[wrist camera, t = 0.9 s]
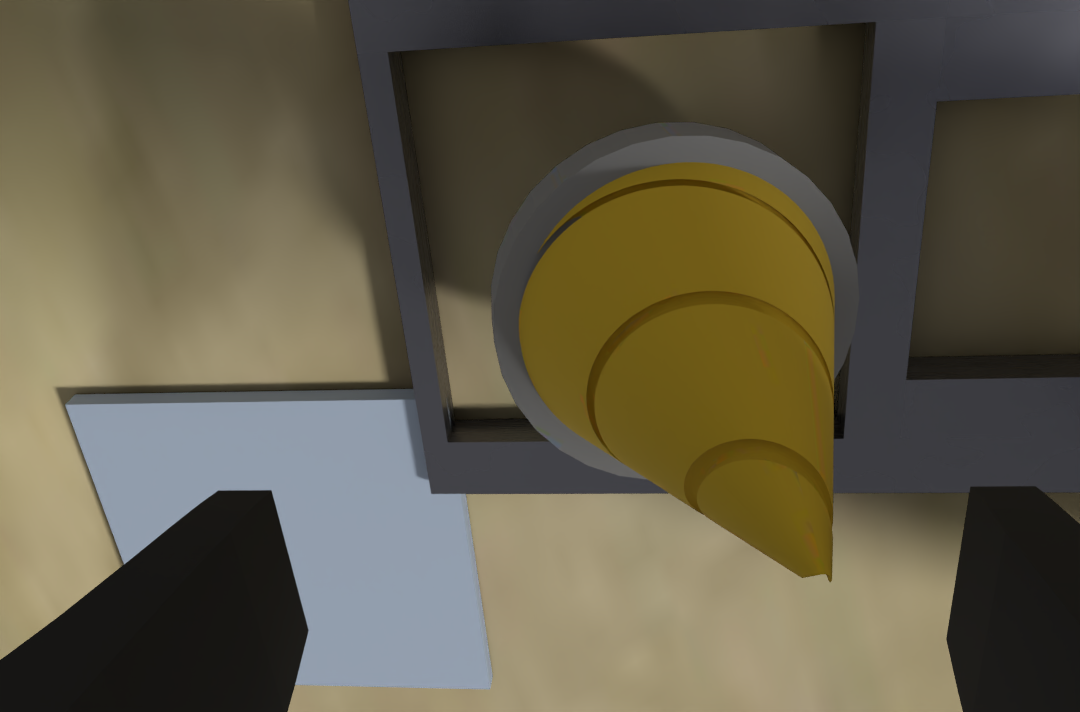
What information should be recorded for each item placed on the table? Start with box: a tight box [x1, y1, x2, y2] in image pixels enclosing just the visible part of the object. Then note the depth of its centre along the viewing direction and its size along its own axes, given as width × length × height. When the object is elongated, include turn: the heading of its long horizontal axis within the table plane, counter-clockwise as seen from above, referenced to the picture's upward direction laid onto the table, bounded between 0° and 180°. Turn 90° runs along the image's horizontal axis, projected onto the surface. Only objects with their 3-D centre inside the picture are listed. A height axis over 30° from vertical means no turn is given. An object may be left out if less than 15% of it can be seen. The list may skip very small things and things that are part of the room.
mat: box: [65, 389, 493, 689], centre depth 22 cm, size 8×8×1 cm
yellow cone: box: [491, 122, 859, 582], centre depth 13 cm, size 5×5×10 cm
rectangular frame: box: [348, 0, 1080, 494], centre depth 17 cm, size 14×10×1 cm
